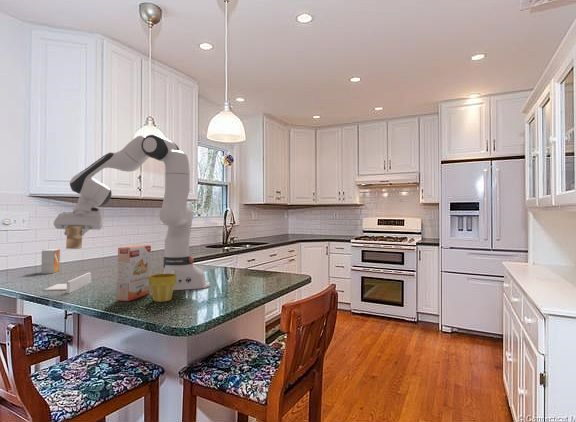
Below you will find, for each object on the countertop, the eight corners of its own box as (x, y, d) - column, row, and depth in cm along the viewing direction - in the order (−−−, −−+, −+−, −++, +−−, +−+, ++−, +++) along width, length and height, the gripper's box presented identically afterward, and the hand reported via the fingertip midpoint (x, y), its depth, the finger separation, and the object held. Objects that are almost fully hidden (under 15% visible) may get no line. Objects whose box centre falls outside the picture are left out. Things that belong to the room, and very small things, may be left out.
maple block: (81, 247, 162) (82, 226, 162) (78, 248, 158) (79, 226, 158) (70, 247, 161) (70, 226, 161) (66, 248, 157) (67, 226, 157)
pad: (82, 284, 166) (82, 283, 166) (71, 290, 154) (71, 288, 154) (56, 285, 164) (56, 284, 164) (43, 290, 152) (43, 289, 152)
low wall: (91, 282, 171) (91, 272, 171) (69, 293, 147) (69, 281, 147) (88, 282, 171) (88, 272, 171) (66, 293, 147) (66, 281, 147)
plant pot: (153, 296, 143) (153, 273, 143) (178, 296, 144) (179, 273, 144) (144, 303, 132) (144, 277, 133) (172, 303, 133) (172, 277, 133)
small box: (53, 273, 196) (54, 250, 196) (40, 273, 195) (41, 250, 195) (59, 271, 204) (60, 248, 204) (47, 271, 203) (47, 249, 203)
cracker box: (129, 301, 134) (130, 247, 134) (115, 301, 135) (116, 247, 136) (150, 293, 148) (151, 244, 148) (138, 293, 149) (138, 244, 149)
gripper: (57, 207, 165) (46, 229, 155) (104, 209, 169) (96, 230, 159) (61, 217, 169) (51, 238, 160) (106, 218, 173) (99, 239, 163)
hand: (73, 234), depth 159 cm, fingers closed on maple block, 5 cm apart
